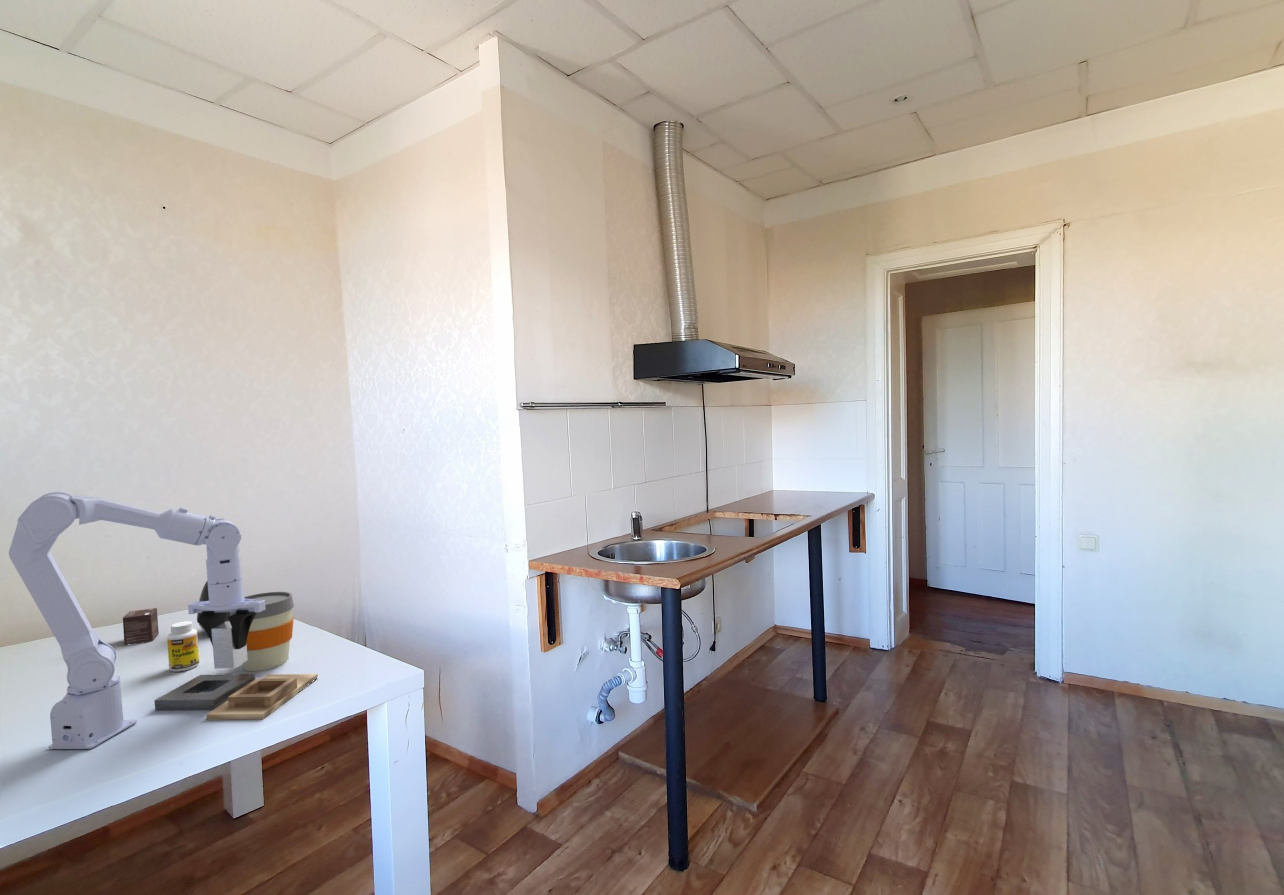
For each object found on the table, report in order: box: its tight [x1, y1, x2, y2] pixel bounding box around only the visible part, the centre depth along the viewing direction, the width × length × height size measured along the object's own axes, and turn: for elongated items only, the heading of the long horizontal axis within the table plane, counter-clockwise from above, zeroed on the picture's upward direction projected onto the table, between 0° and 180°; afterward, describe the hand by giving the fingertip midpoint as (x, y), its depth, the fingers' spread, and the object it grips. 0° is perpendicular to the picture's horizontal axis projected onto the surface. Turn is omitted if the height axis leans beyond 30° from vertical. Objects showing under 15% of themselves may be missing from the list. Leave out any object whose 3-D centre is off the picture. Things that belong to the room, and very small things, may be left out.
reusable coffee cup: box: [230, 591, 295, 672], centre depth 145 cm, size 13×13×15 cm
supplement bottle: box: [166, 620, 200, 673], centre depth 144 cm, size 6×6×10 cm
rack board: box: [205, 673, 319, 721], centre depth 126 cm, size 18×11×3 cm, turn 177°
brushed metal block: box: [211, 622, 248, 670], centre depth 126 cm, size 4×4×8 cm
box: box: [122, 607, 160, 646], centre depth 164 cm, size 6×6×7 cm
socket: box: [154, 673, 256, 711], centre depth 128 cm, size 12×12×2 cm
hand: (230, 647), depth 126 cm, fingers closed on brushed metal block, 4 cm apart
